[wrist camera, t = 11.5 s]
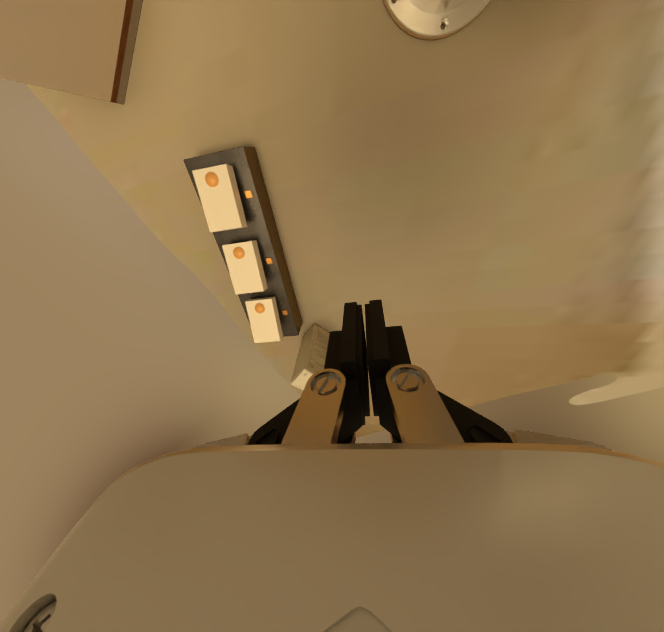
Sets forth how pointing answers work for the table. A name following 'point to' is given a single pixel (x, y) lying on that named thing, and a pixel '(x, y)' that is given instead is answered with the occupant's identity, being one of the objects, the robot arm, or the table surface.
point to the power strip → (255, 231)
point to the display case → (70, 45)
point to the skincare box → (310, 356)
